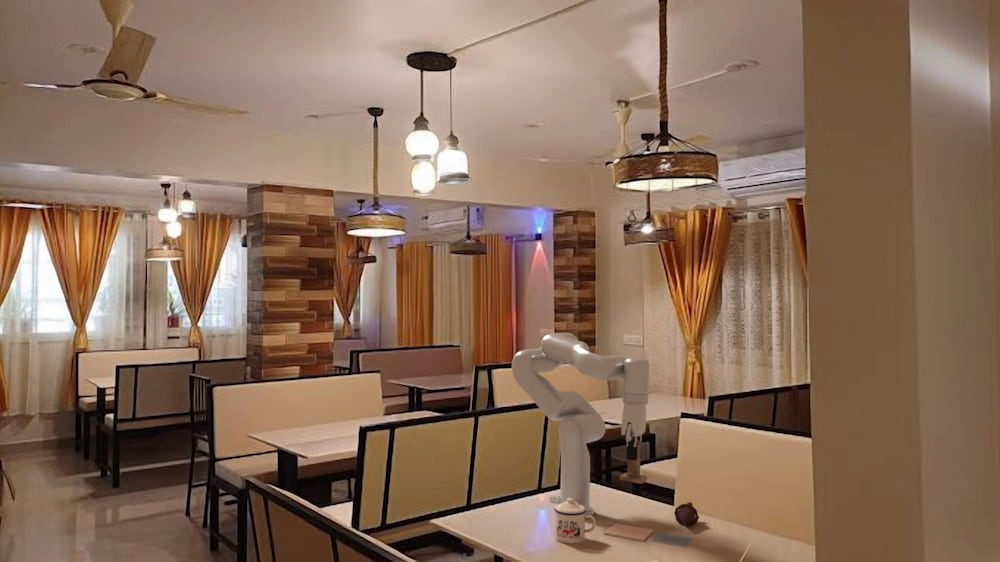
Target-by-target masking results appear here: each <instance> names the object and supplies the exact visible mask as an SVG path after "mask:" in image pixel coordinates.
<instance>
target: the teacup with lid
mask: <svg viewBox="0 0 1000 562" xmlns="http://www.w3.org/2000/svg"><path fill="white" fill-rule="evenodd" d="M554 511H555V514H554V515H555V516H554V517H555V518H554V519H555V520H554V538H555V540H556V541H558V542H560V543H563V544H571V545H573V544H581V543H582V542H584V541H585V539H586V538H585V536H586V534H588V533H591V532H593V531H594V529H595V528H596V523H597V521H596V519H595V517H594V516H593V515H592V516H591V515H585V512H586V510H585V507H584V506H582V505H579V504H577V503H576V502H574V499H572V498H568V499H567V501H566V502H564V503H562V504H558V505H557V504H556V505H555V507H554ZM586 519H590V520H592V527H590V528H588V529H586V527H585V526H586Z"/></svg>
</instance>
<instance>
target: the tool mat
mask: <svg viewBox="0 0 1000 562" xmlns="http://www.w3.org/2000/svg"><path fill="white" fill-rule="evenodd" d="M693 540H694V537H689V536H684V535H678V534H671V533H669V532H668V533H666V532H663V531H662V532H661V531H660V532H659V533H657V535H655V537H654V538H652V540H651V542H655V543H660V544H666V545H671V546H677V547H682V548H687V547H688V546H689V545H690V543H691V542H692V541H693Z"/></svg>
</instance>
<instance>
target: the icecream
mask: <svg viewBox="0 0 1000 562" xmlns="http://www.w3.org/2000/svg"><path fill="white" fill-rule="evenodd" d="M673 514H674V516H675V521H676V522H677V523H679V525H682V526H690V527H693V526H694V525H695V524H696V523H698V521H699V519H700V517H699V514H698V511H697V509H696V508H695V507H694V505H693V502H691V501H689V502H687V503H681V504H680V505H679V506H677V507H675V509H674V513H673Z"/></svg>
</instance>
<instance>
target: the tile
mask: <svg viewBox="0 0 1000 562" xmlns="http://www.w3.org/2000/svg"><path fill="white" fill-rule="evenodd" d="M653 532H654V529H651V528H643V527H638V526H633V525H625V524H621V523H613V524H612V526H610V527H609V528H608V529H606V530H605V531H604V532H603V535H604V536H611V537H616V538H621V539H626V540H631V541H637V542H638V541H639V542H645V541H646V539H648V538H649V536H651V535H652V534H653Z"/></svg>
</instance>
